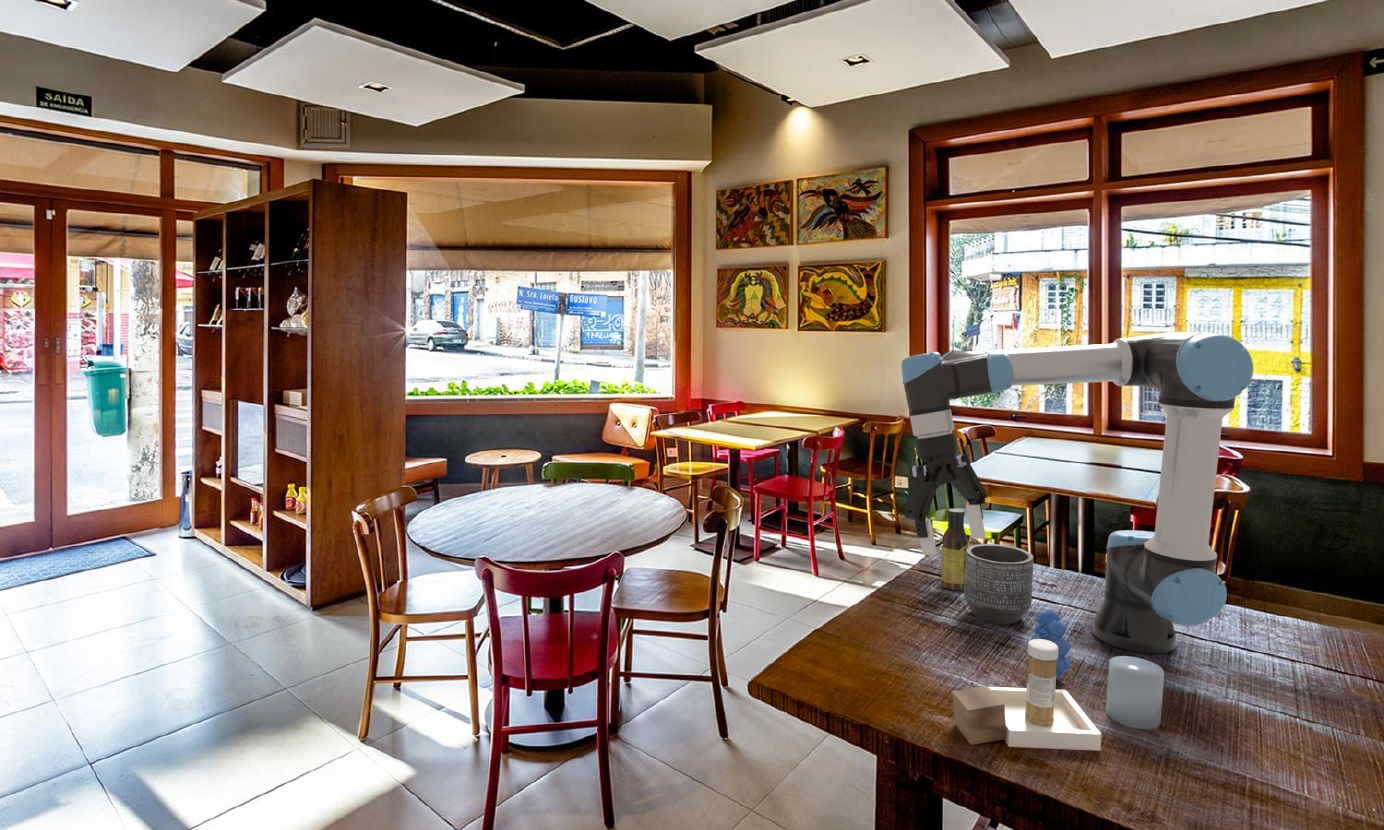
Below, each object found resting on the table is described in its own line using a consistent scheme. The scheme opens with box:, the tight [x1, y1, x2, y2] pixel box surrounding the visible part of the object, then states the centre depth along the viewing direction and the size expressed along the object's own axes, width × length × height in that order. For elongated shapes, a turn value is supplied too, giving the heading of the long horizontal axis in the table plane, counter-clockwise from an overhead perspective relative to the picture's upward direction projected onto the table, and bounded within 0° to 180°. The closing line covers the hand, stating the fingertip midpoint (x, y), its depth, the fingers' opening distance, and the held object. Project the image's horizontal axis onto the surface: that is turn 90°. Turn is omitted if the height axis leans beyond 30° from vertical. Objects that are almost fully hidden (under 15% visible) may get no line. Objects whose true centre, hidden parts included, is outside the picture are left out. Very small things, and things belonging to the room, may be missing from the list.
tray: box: [988, 686, 1102, 752], centre depth 124 cm, size 14×14×3 cm
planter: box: [963, 543, 1034, 626], centre depth 168 cm, size 14×14×15 cm
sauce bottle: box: [940, 508, 970, 591], centre depth 186 cm, size 7×6×20 cm
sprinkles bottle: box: [1025, 639, 1058, 726], centre depth 123 cm, size 5×5×13 cm
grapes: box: [1030, 609, 1071, 680], centre depth 142 cm, size 12×7×12 cm, turn 177°
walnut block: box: [951, 685, 1007, 746], centre depth 121 cm, size 6×6×6 cm
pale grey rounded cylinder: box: [1105, 655, 1165, 730], centre depth 127 cm, size 8×11×9 cm
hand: (954, 546), depth 139 cm, fingers open, 13 cm apart
